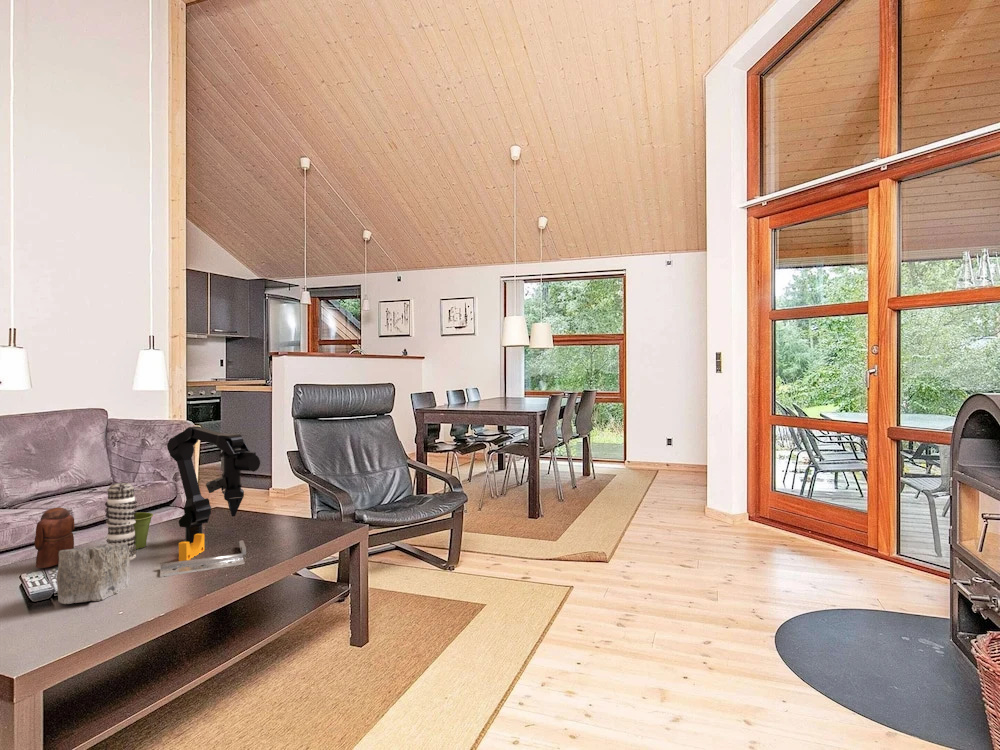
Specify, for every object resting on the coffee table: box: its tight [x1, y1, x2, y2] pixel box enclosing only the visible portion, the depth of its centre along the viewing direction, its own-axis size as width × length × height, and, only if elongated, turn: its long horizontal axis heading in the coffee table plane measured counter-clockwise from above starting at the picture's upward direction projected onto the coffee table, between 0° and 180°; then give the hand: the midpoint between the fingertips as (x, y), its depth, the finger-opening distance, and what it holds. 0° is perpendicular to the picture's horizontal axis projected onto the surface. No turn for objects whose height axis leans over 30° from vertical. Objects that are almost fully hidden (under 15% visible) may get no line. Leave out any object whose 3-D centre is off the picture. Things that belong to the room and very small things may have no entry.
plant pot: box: [134, 512, 154, 551], centre depth 219 cm, size 12×12×11 cm
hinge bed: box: [159, 539, 247, 578], centre depth 202 cm, size 20×25×3 cm
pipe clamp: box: [178, 533, 205, 561], centre depth 208 cm, size 12×4×6 cm, turn 179°
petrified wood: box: [56, 543, 131, 605], centre depth 174 cm, size 19×17×15 cm
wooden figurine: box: [34, 507, 76, 569], centre depth 201 cm, size 12×6×18 cm, turn 176°
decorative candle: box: [104, 482, 138, 561], centre depth 206 cm, size 9×9×25 cm
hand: (232, 513), depth 219 cm, fingers open, 9 cm apart
